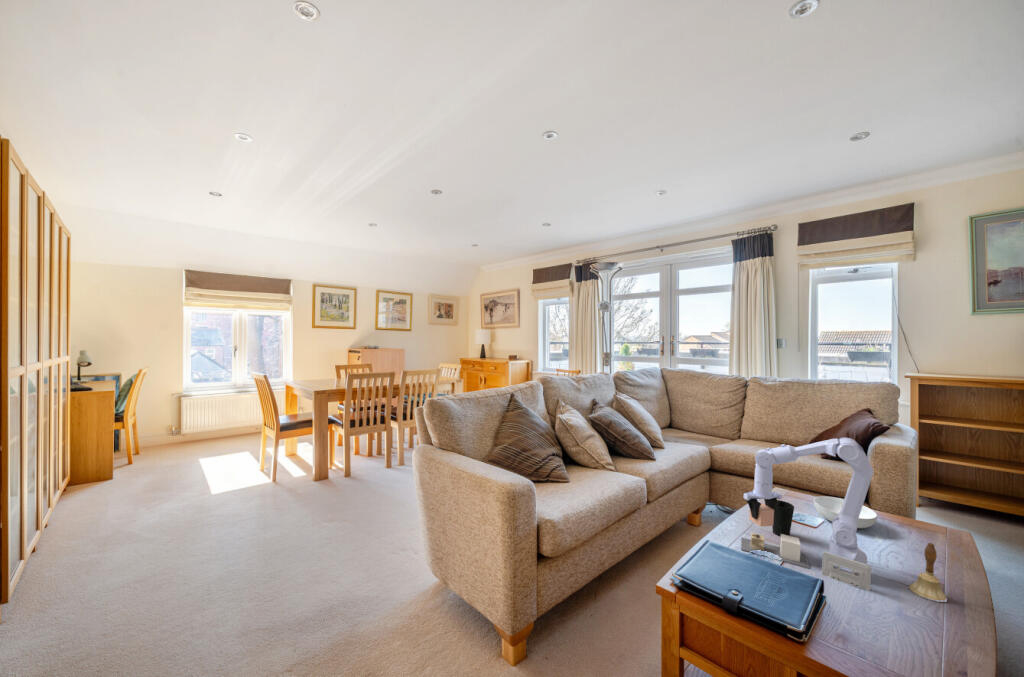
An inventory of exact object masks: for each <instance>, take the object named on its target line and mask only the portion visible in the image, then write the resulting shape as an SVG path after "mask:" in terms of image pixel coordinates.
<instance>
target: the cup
mask: <svg viewBox="0 0 1024 677" xmlns="http://www.w3.org/2000/svg"><path fill="white" fill-rule="evenodd" d="M777 500H778V501H780V504H779V505H778V506H777V507H776V509H775V511H774V521H773V526H771V527H772V528H771V529H772V533H773V535H776V536H778V537H779V538H780V537H781V534H784V535H788V536H791V534H790V533H791V530H792V525H793V517H794V513H795V511H794V510H795V506H794V505H793V504H792V503H790V502H787V501H785V500H781V499H777Z"/></svg>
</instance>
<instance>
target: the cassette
mask: <svg viewBox="0 0 1024 677" xmlns="http://www.w3.org/2000/svg"><path fill="white" fill-rule="evenodd" d="M834 565H837V566H838V567H835V566H834ZM840 566H841V567H844V568H847V569H850V570H852V572H849V571H846V570H843V569H840ZM855 572H858V574H856V573H855ZM821 574H822V576H825V577H828V579H829V578H830V579H833V580H835V581H838V582H841V583H844V584H847V585H851V586H853V587H855V588H859V589H863V590H865V591H866V590H867V591H868V592H869V591H871V584H872V583H871V577H872V565H870V564H868V563H867V564H864V563H860V562H857V561H854V560H851V559H847V558H844V557H841V556H838V555H835V554H831V553H829V551H824V550H823V552H822V561H821Z"/></svg>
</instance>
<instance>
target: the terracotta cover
mask: <svg viewBox="0 0 1024 677" xmlns="http://www.w3.org/2000/svg"><path fill="white" fill-rule="evenodd" d="M760 503H761V502H760ZM749 521H752V522H753V523H754V524H756V525H757V526H759V527H772V526H773V521H774V510H773V509H772V508H770V507H768V506H766V505H765V503H761V505H760V508H759V512H758V519H754V518H753V517H752V515H751V511H750V510H749Z"/></svg>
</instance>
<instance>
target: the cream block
mask: <svg viewBox="0 0 1024 677" xmlns="http://www.w3.org/2000/svg"><path fill="white" fill-rule="evenodd" d="M779 539H780V542H779V547H780V554H781V557H783V558H787V559H790V560H794V561H798V562H800V553H801V541H800V538H799V537H796V536H792V535H790V536H788V535H784V534H781V537H780V536H779Z"/></svg>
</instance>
